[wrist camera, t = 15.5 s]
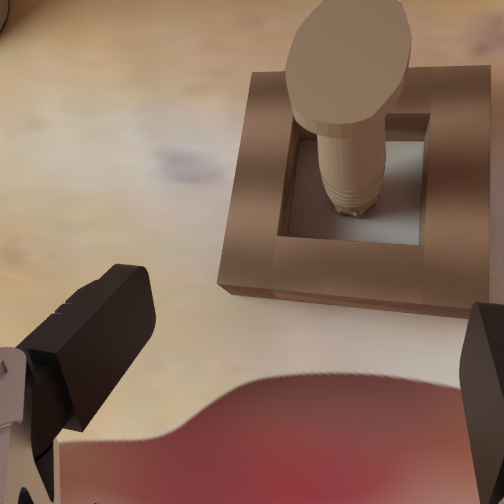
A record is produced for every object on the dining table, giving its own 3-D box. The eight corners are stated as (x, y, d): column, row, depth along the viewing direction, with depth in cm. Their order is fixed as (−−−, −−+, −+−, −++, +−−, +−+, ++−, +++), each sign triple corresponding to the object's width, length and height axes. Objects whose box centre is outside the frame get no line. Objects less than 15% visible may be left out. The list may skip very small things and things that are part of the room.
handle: (309, 233, 33) (269, 115, 19) (331, 154, 34) (309, -12, 20) (377, 247, 31) (389, 131, 17) (397, 164, 33) (424, -6, 19)
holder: (262, 100, 37) (252, 72, 34) (478, 97, 33) (490, 65, 29) (231, 294, 33) (216, 283, 29) (474, 319, 28) (488, 310, 25)
